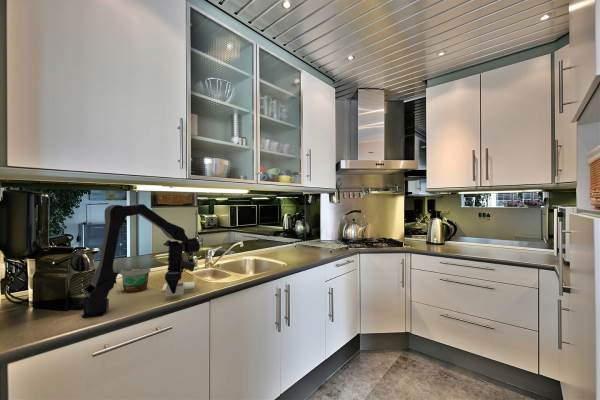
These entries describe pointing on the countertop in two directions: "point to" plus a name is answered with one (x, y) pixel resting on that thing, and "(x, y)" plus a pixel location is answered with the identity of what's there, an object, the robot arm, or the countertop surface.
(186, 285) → the sage mat
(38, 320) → the countertop surface
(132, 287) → the food container
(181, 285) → the card deck
